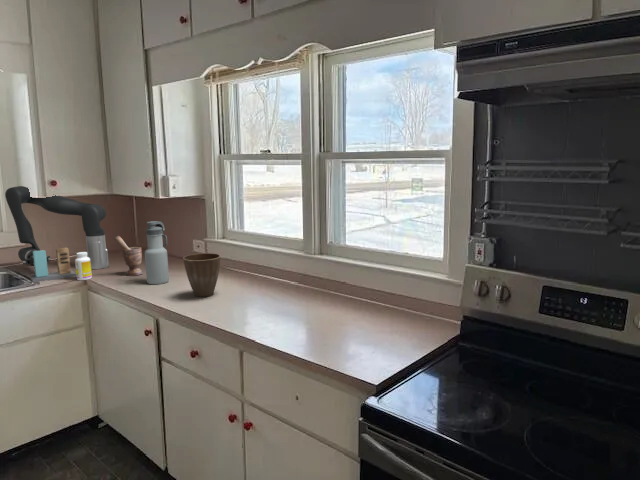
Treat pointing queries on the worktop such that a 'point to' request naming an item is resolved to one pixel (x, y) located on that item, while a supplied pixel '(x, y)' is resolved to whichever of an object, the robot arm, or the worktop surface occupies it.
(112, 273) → the worktop surface
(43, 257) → the teal rectangular block
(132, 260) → the mortar and pestle
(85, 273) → the supplement bottle
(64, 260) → the tan tall block
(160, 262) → the water bottle
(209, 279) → the plant pot
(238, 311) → the worktop surface
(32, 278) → the key base
